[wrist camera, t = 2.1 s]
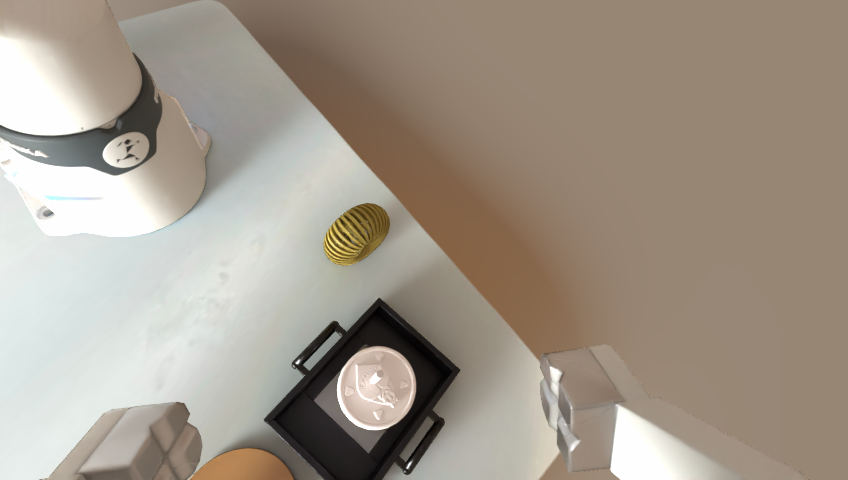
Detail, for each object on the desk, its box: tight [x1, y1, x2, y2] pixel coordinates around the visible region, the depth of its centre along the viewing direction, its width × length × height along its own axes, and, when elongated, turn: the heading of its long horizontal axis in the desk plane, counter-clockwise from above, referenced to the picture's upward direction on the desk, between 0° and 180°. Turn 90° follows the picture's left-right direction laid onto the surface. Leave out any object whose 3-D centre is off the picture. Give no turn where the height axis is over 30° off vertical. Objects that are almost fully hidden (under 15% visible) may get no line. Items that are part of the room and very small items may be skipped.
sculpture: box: [324, 203, 390, 266], centre depth 43 cm, size 8×4×8 cm, turn 132°
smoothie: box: [337, 346, 416, 430], centre depth 34 cm, size 6×6×14 cm
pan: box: [264, 298, 460, 480], centre depth 39 cm, size 15×15×3 cm
